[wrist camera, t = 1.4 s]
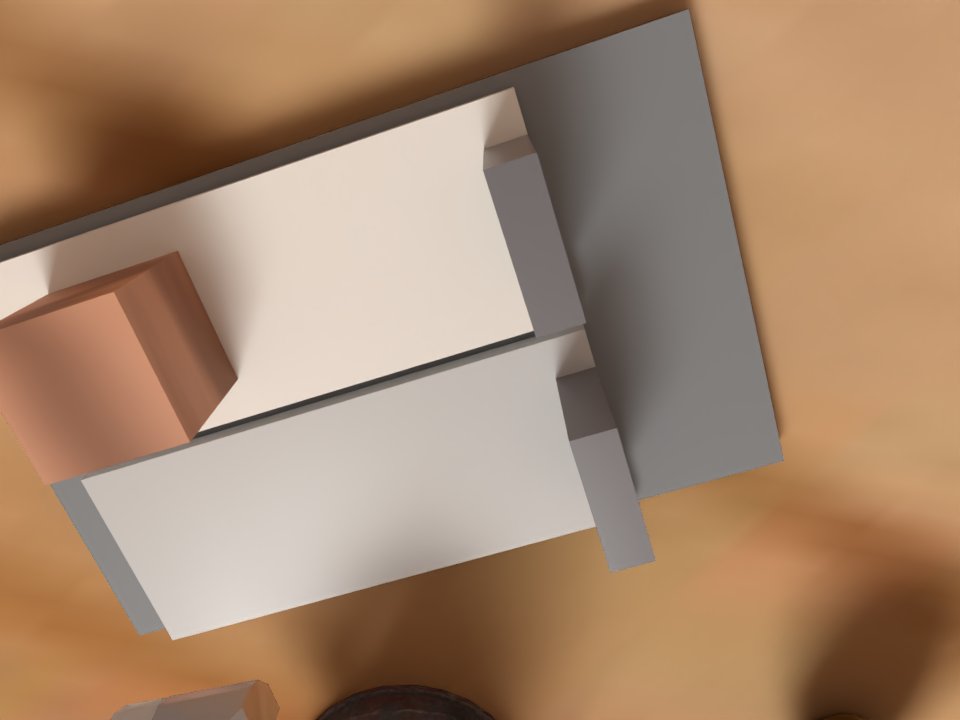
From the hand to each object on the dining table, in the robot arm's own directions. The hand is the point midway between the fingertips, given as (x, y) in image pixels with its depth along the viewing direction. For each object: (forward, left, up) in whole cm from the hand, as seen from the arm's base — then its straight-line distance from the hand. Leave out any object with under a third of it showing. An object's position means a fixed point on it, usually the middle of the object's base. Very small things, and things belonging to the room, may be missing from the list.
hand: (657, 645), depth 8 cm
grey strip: (+9, +8, -21) cm, 24 cm away
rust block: (+14, -1, -20) cm, 25 cm away
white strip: (+9, -1, -21) cm, 23 cm away
